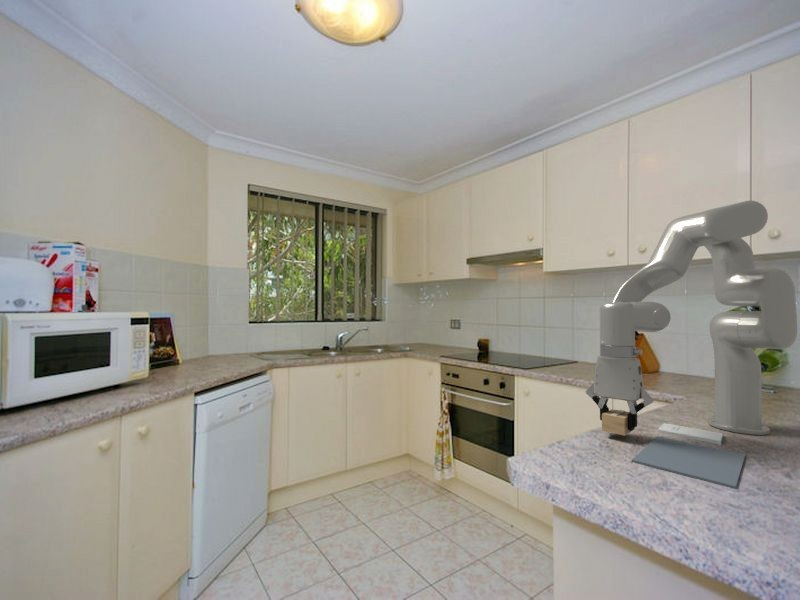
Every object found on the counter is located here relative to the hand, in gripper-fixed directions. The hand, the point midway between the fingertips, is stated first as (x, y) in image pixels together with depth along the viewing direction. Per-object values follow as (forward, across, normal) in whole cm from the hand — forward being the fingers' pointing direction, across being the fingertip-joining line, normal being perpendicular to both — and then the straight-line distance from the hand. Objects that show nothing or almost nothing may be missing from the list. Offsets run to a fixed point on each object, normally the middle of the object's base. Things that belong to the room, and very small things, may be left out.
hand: (618, 425), depth 94 cm
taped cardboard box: (+1, 0, 0) cm, 1 cm away
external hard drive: (+4, -12, -16) cm, 21 cm away
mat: (+3, -15, +4) cm, 16 cm away
